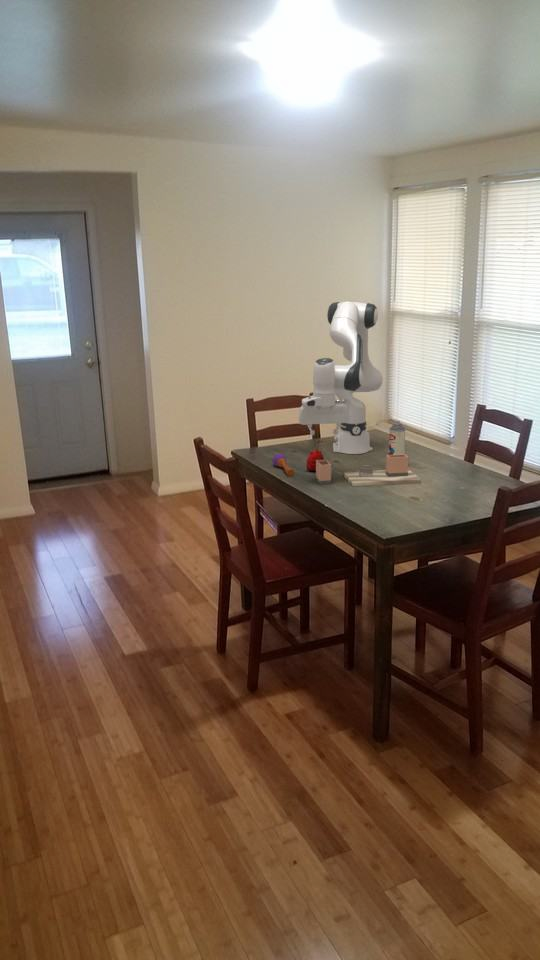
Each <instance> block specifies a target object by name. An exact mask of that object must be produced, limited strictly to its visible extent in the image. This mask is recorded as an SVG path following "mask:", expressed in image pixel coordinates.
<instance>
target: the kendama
mask: <svg viewBox="0 0 540 960" xmlns="http://www.w3.org/2000/svg"><path fill="white" fill-rule="evenodd" d="M272 464H273V465H274V466H275V467H277V466H278V467H277V468H283V469H284V472H285V473H286V476H287V477H288V476H289V477H293V476H295V470H293V468H291V467H290V466H288V465H287V457H286V456H285V454H283V453H281V452H280V453H276V454H275V455H274V456H273V458H272ZM292 475H293V476H292Z"/></svg>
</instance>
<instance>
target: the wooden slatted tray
mask: <svg viewBox="0 0 540 960" xmlns="http://www.w3.org/2000/svg"><path fill="white" fill-rule="evenodd" d="M343 477H344V478H345V479H346V481H348V483H349V484H350V486H352V487H368V486H386V485H387V486H388V485H402V484H403V485H404V484H405V485H406V484H407V485H408V483H410V484H421V482H422V481H421V478H420V477H419V476H418V475H416V474H415V473H414V472H412V470H411V469H409V468H408V476H397V477H388V476H387V475H386V469H383V470H382V469H381V470H379V469H378V470H374V468H373V467H372V465H371V464H370V465H368V464H367V465H360V467H359V470H358V471H344V472H343Z"/></svg>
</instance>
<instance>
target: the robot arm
mask: <svg viewBox="0 0 540 960" xmlns="http://www.w3.org/2000/svg"><path fill="white" fill-rule="evenodd" d="M326 318H327V321H328V324H329V325H330V327H329V336H330V338H331V340H332V341H333V343H334V344H336V345H338V346H339V347H341V348H342V354H343V357H344V358H345V359H346V360H347V361H349V362H350V364H347V365H345V364H344V365H342V364H341V365H339V364H337V365H336V364H335V361H334V359H332V358H330V357H323V358H318V359H317V360H315V361H314V365H313V375H312V382H313V392H312V395H310V396H307V397H304V398H302V399H301V404H302V405H301V406H300V408H299V411H298V423H299V424H300V425H302V426H307V427H308V429H309V433H310V436H315V433H316V432H315V430H314V429H312V427H313V425H329V424H332V425H333V424H335V425H336V427H335V428H334V429H333V430H332V432H333V435H334V441H335V442H333V443H332V448H333V449H332V450H333V451H332V452H333V453H342V454H347V455H360V454H365V453H366V454H367V453H368V452H370V451H373V450H374V449H373V447H372V446H370V433H369V432H368V431H367V426H368V424H367V421H366V415H367V414H366V412H367V410H366V409H367V408H366V404H365V403H364V402H363V401H362V400H360V399H358V398H356V397H354V395H353V394H354V393H370V392H375V391H379V389H381V387H382V385H383V375H382V373H381V372H380V370H379V369H378V368H376V367H375V366H374V365H373V364H372V361H371V359H370V357H369V329H370V328H373V327H374V326H375V325H376V324H377V322H378V319H379V311H378V307H377V306H376V305H375V304H373V303H369V302H366V303H365V302H360V301H342V302H341V301H340V302H339V301H336V302H332V303H331V304H330V305H329V306H328V309H327V313H326ZM336 398H338V399H336Z"/></svg>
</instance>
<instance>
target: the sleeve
mask: <svg viewBox="0 0 540 960" xmlns="http://www.w3.org/2000/svg"><path fill="white" fill-rule="evenodd" d="M316 479H317V480H316ZM315 480H316V481H317V482H319V483H318V484H319V485H331V484H332V464H331V462H330V461H329V460H328V459H324V460H316V472H315Z"/></svg>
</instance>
